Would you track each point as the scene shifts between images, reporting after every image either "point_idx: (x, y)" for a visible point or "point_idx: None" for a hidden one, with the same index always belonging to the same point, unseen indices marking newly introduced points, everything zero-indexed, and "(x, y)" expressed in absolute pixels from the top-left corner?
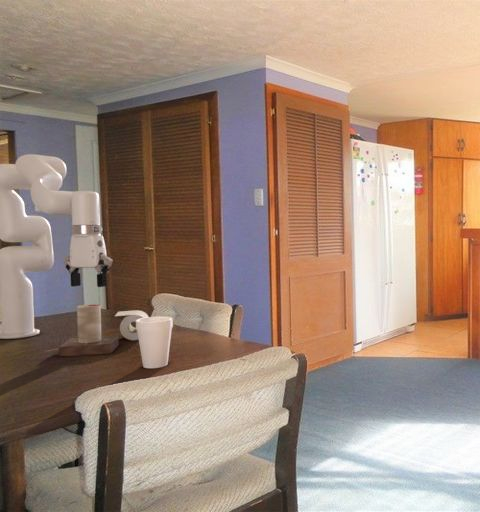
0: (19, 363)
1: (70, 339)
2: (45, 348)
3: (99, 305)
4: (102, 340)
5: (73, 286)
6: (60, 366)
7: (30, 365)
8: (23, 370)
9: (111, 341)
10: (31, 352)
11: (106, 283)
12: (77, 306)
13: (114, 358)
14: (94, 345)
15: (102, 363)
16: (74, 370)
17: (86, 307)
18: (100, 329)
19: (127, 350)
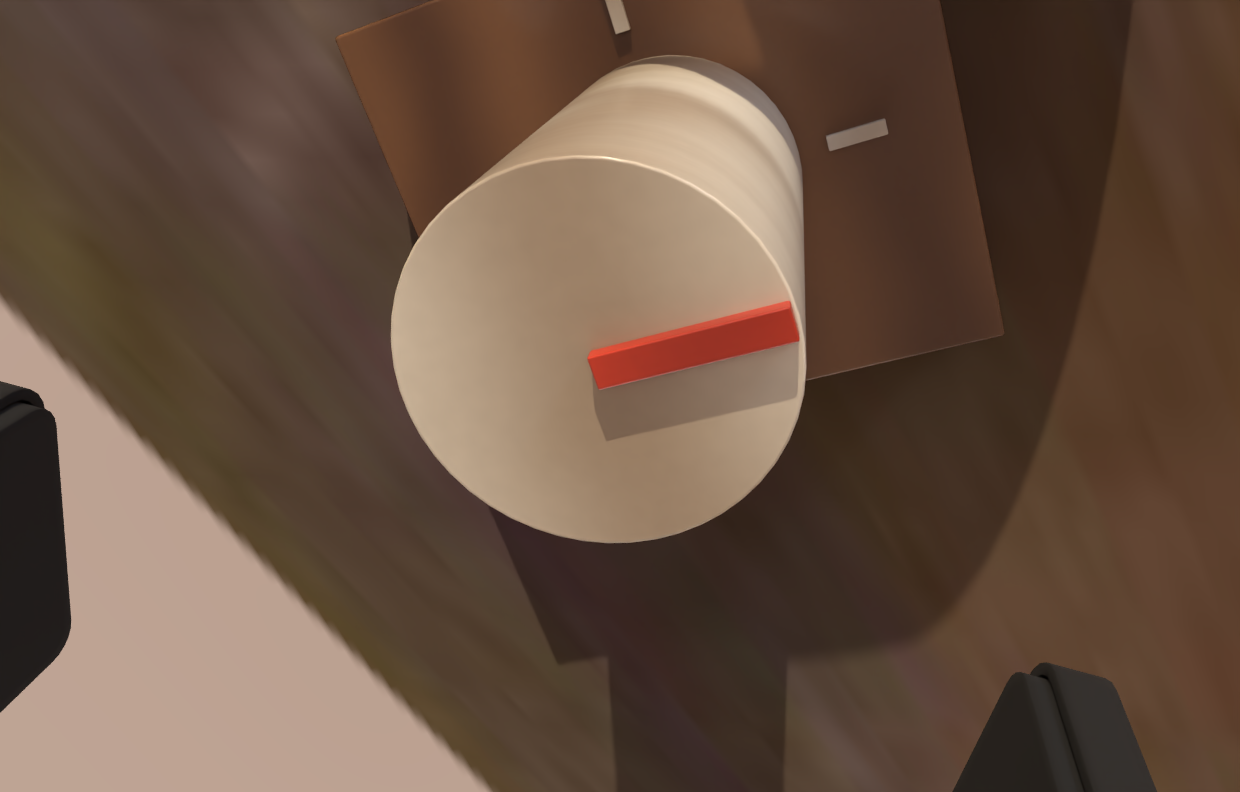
0: (376, 589)
1: (386, 113)
2: (149, 79)
3: (795, 339)
4: (817, 155)
5: (64, 609)
6: (748, 680)
7: (501, 642)
8: (551, 748)
9: (964, 212)
10: (163, 251)
11: (1128, 728)
12: (416, 422)
13: (1106, 476)
14: (833, 372)
15: (1059, 624)
16: (920, 777)
17: (658, 534)
18: (801, 205)
19: (1131, 145)
